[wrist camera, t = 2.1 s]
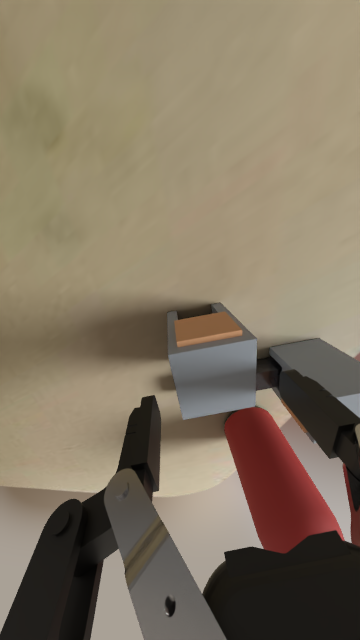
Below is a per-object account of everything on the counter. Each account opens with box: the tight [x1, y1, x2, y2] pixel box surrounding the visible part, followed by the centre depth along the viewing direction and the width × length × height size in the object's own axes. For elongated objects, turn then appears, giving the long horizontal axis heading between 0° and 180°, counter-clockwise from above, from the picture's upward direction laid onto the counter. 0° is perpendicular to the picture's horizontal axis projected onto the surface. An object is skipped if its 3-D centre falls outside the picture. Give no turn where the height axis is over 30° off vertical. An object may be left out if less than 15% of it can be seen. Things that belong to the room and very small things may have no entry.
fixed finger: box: [269, 338, 360, 443], centre depth 16 cm, size 5×6×7 cm
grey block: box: [167, 303, 257, 420], centre depth 14 cm, size 5×6×7 cm
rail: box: [256, 357, 282, 391], centre depth 19 cm, size 2×16×2 cm, turn 100°
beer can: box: [224, 407, 345, 553], centre depth 18 cm, size 7×7×12 cm
